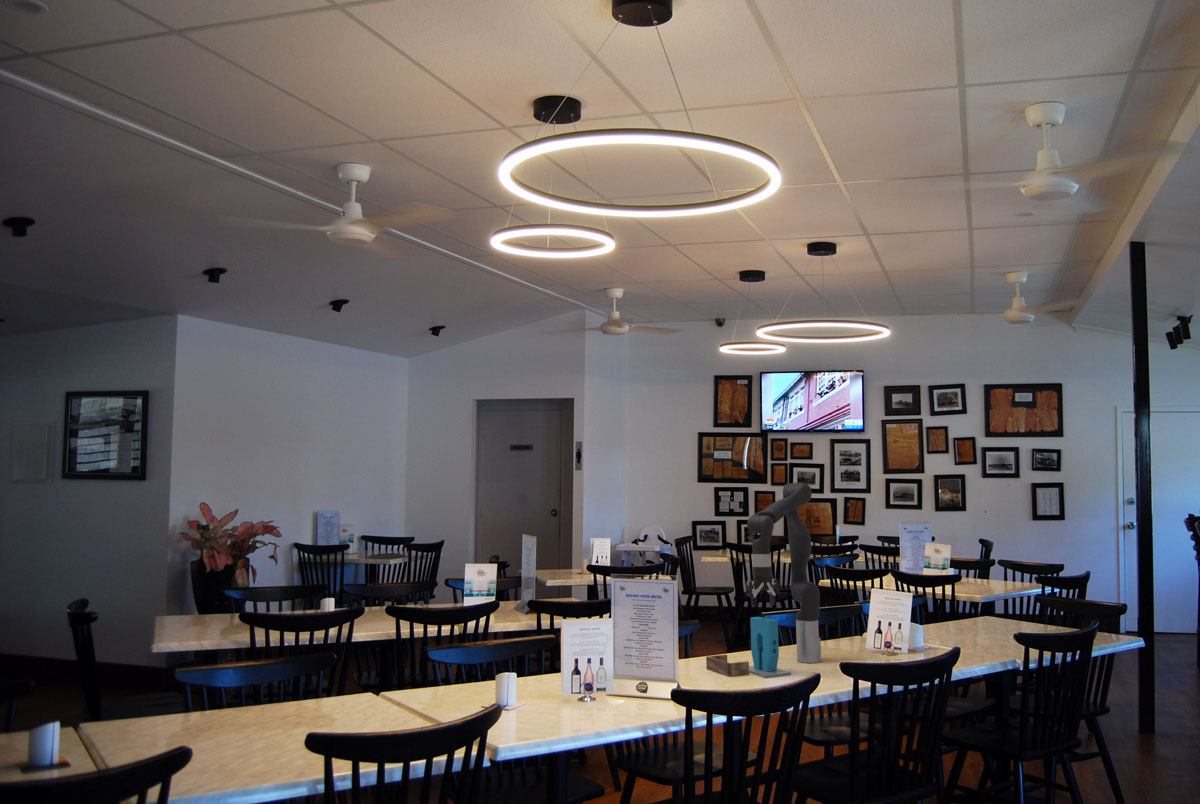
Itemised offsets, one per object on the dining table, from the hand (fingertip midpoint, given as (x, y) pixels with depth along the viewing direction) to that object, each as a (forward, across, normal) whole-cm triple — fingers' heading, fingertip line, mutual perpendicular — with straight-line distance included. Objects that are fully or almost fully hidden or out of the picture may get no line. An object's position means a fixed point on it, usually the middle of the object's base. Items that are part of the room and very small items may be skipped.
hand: (763, 606), depth 364 cm
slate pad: (+26, 0, 0) cm, 26 cm away
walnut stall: (+26, +12, -8) cm, 30 cm away
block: (+25, 0, 0) cm, 25 cm away
